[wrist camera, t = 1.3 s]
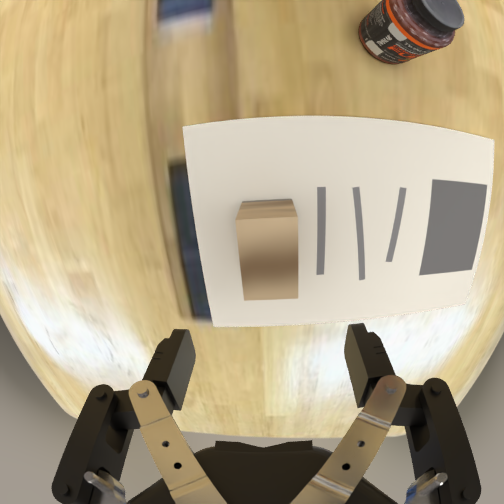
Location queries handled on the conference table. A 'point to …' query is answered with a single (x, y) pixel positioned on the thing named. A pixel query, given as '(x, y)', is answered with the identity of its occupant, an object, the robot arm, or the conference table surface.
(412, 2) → the supplement bottle
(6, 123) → the conference table surface
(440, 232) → the board
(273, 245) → the block
